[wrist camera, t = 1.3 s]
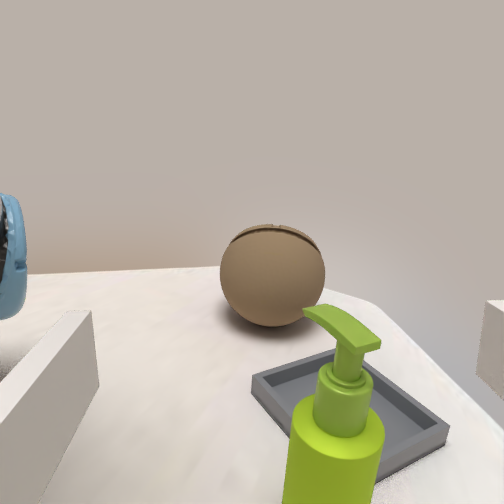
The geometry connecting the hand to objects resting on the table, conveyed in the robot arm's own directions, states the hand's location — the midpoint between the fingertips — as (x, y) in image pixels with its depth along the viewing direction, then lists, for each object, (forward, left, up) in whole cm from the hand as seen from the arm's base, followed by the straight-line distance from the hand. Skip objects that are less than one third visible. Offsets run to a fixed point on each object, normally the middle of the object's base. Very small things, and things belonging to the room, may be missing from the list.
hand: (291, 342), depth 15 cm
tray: (-16, +21, -25) cm, 37 cm away
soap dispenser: (-6, +9, -25) cm, 28 cm away
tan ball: (-37, +25, -25) cm, 52 cm away
